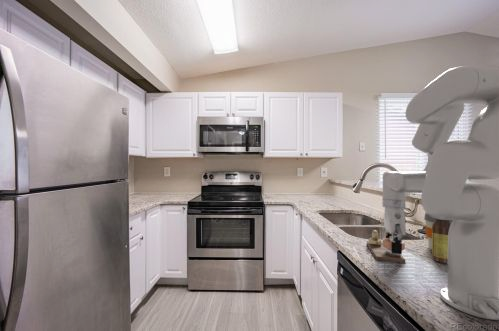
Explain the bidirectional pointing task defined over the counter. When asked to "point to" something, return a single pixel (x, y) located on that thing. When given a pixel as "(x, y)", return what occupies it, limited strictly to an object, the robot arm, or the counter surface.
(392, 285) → the counter surface
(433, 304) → the counter surface
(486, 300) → the robot arm
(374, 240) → the hub post
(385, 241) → the ring
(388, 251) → the storage rod
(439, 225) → the sauce bottle
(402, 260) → the board
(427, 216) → the reusable coffee cup
